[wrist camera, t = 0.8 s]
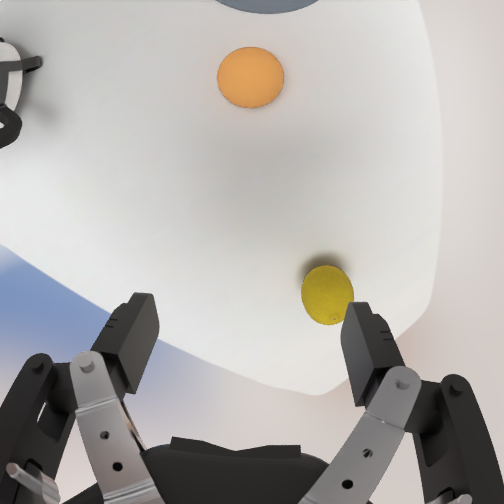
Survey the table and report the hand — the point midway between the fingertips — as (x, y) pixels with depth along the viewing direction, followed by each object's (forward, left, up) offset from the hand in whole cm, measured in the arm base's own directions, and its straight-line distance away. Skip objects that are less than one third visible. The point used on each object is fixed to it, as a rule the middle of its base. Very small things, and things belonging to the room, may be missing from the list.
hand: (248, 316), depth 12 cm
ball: (-1, +10, -17) cm, 20 cm away
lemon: (+9, -10, -20) cm, 24 cm away
